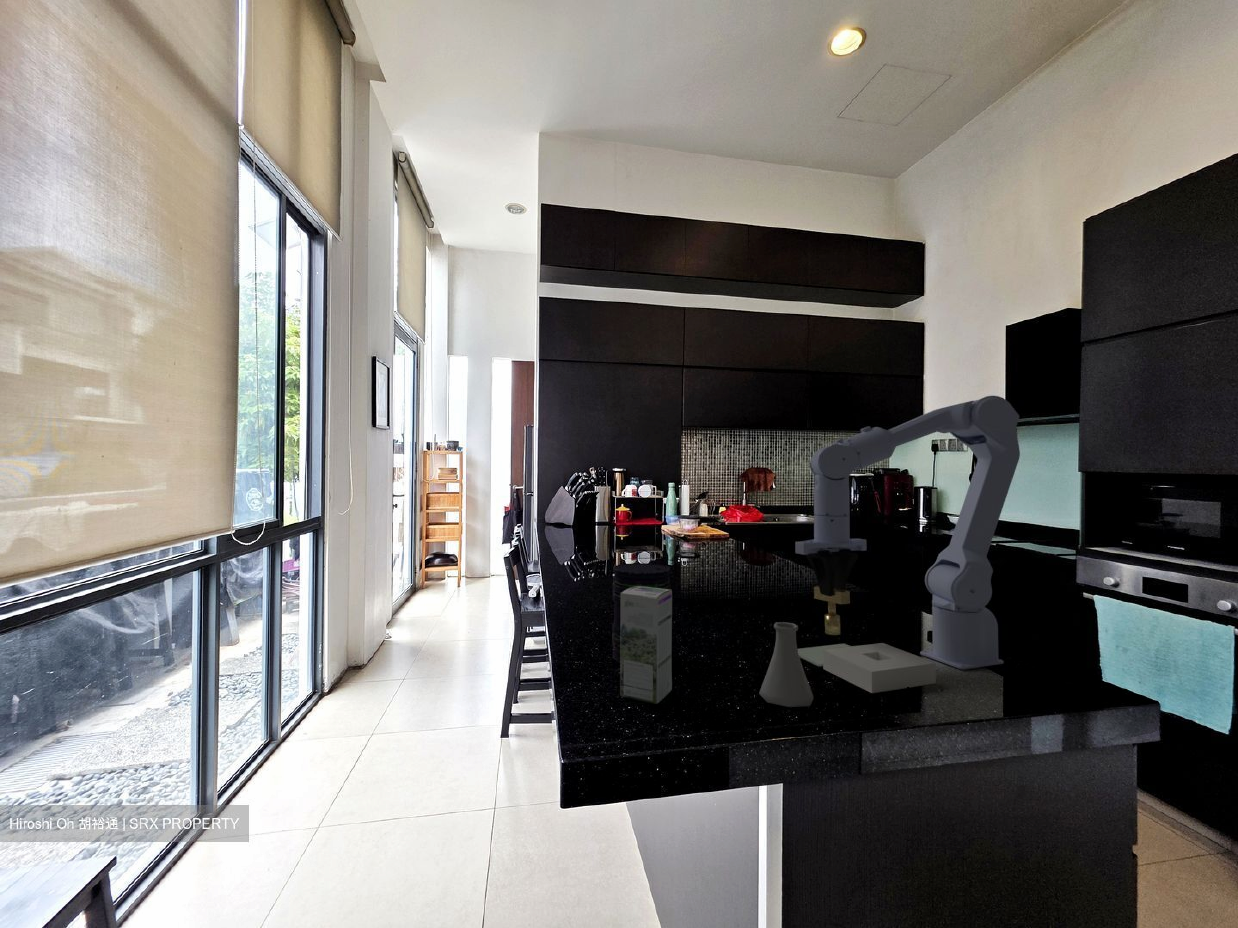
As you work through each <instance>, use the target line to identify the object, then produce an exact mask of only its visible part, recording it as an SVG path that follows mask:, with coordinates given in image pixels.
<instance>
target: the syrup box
mask: <svg viewBox="0 0 1238 928" xmlns="http://www.w3.org/2000/svg"><path fill="white" fill-rule="evenodd" d="M672 618H673V590H672V589H671V588H670V589H661V588H651V587H642V586H634V587H631V588H628V589H626V590H625V591H623V592H622V593H621V634H620V662H619V664H620V666H619V667H620V676H619V677H620V679H619V680H620V681H619V682H620V685H619V689H620V691H619V695H620V697H624V698H628V699H631V700H637V701H641V702H645V703H650V704H655V705H658V704H659V703H660V702H661V701H662V700H663V699H664V698H665V697H667V696H668V694H670V693H671V691H672V689H673V679H672V678H673V677H672V673H673V672H672V646H673V645H672V641H673V640H672V635H673V634H672V633H673V632H672V629H673V628H672V627H673V626H672V625H673V621H672V620H673V619H672Z"/></svg>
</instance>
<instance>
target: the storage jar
mask: <svg viewBox="0 0 1238 928" xmlns="http://www.w3.org/2000/svg"><path fill="white" fill-rule="evenodd" d="M670 571H671V569H670V567H669V566H667V565H663V564H657V563H643V562H640V563H639V562H635V563H633V562H630V563H622V564H617V565H614V566H613V569H612V572H613V575H612V576H613V577H612V578H613V580H612V581H613V582H612V595H611V596H612V600H613V603H614V607H613V608H614V609H613V610H614V611H613V613H614V617H613V618H614V620H613V623H612V627H611V630H612V634H611V641H612V648H613V651H612V659H614V660H615V661H616V662H617V663H620V634H621V593H622V592H623V591H625V590H626V589H628V588H631V587H634V586H642V587H651V588H661V589H670V590H671V583H670V579H671V576H670V574H671V572H670Z"/></svg>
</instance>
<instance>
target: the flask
mask: <svg viewBox="0 0 1238 928" xmlns="http://www.w3.org/2000/svg"><path fill="white" fill-rule="evenodd" d="M773 628H774V629H775V644H774V647H773V648H774V649H773V653H772V657H771V659H770V662H769V666H768V669H767V671H766V673H765V674H766V675H765V676H764V679H763V682H762V684H761V686H760V687H761V688H760V690H759V693H758V694H759V696H761V697H762V698H763V699H764V701H765V702H766V703H768V704H774V705H779V706H783V707H787V708H794V707H795V708H796V707H798V708H799V707H811V704H812V703H813V701H814V695H813V691H812V688H811V687H810V684H809V681H808V679H807V676H806V672H805V670H804V666H803V664H802V660H801V658H800V657H799V654H798V649H799V648H798V645H797V631H798V630H799V626H798V625H797V624H795V623H792V622H786V621H785V622H784V621H783V622H780V621H779V622H777V621H776V622H775V623H774V624H773Z"/></svg>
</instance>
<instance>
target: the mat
mask: <svg viewBox="0 0 1238 928" xmlns="http://www.w3.org/2000/svg"><path fill="white" fill-rule="evenodd" d="M844 647H852V646H851V645H850V644H849V645H848V644H847V643H837V644H829V645H821V646H811V647H810V646H809V647H803V648H797V649H798V654H799V657H800V659H802V660H805V661H807V662H809V664H813V665H815V666H817V667H823V650H827V649H835V648H844Z"/></svg>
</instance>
